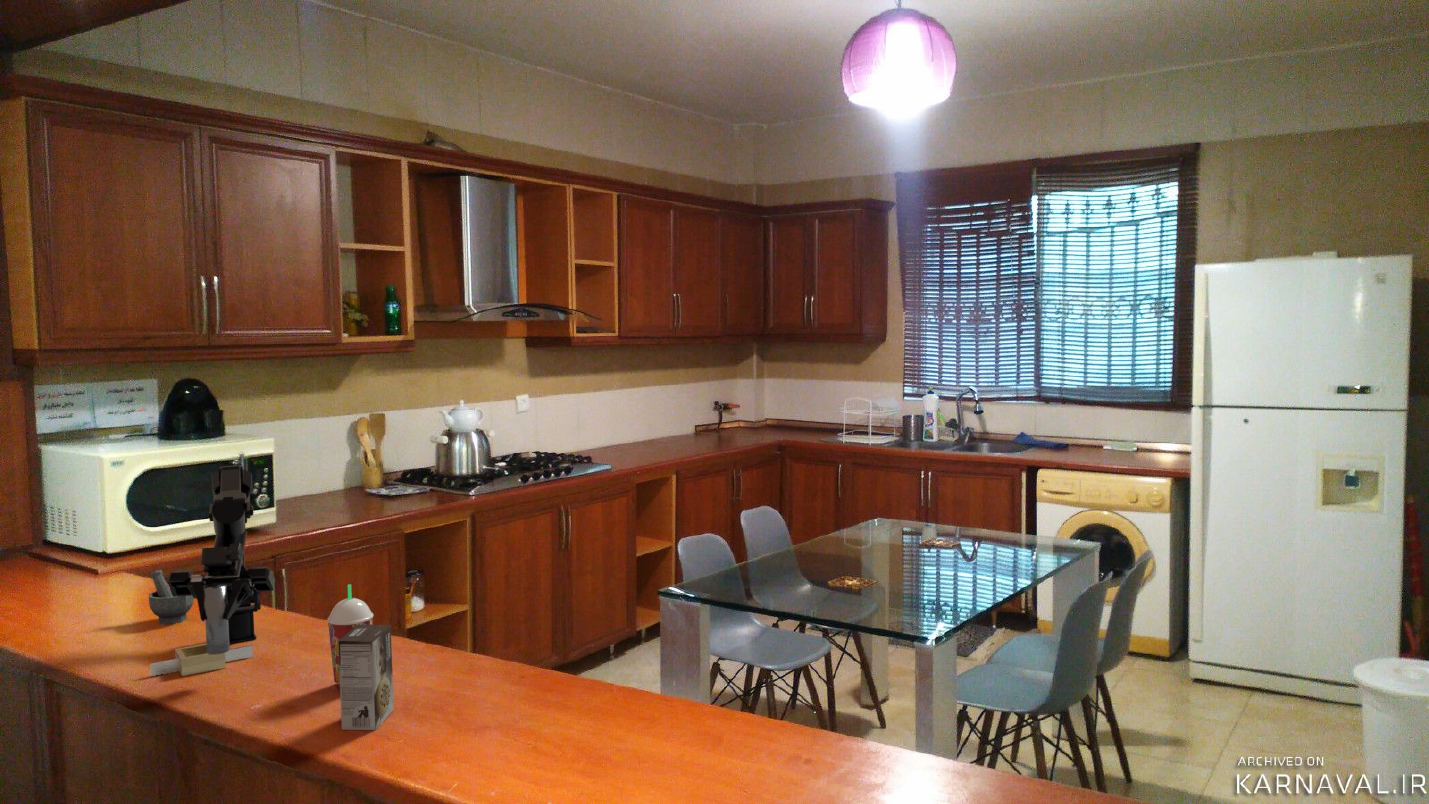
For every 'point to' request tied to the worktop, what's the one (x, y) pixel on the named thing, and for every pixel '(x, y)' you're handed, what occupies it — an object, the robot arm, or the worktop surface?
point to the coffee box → (366, 677)
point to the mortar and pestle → (168, 602)
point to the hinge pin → (216, 619)
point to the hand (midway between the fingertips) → (214, 619)
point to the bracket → (199, 660)
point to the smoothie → (346, 625)
